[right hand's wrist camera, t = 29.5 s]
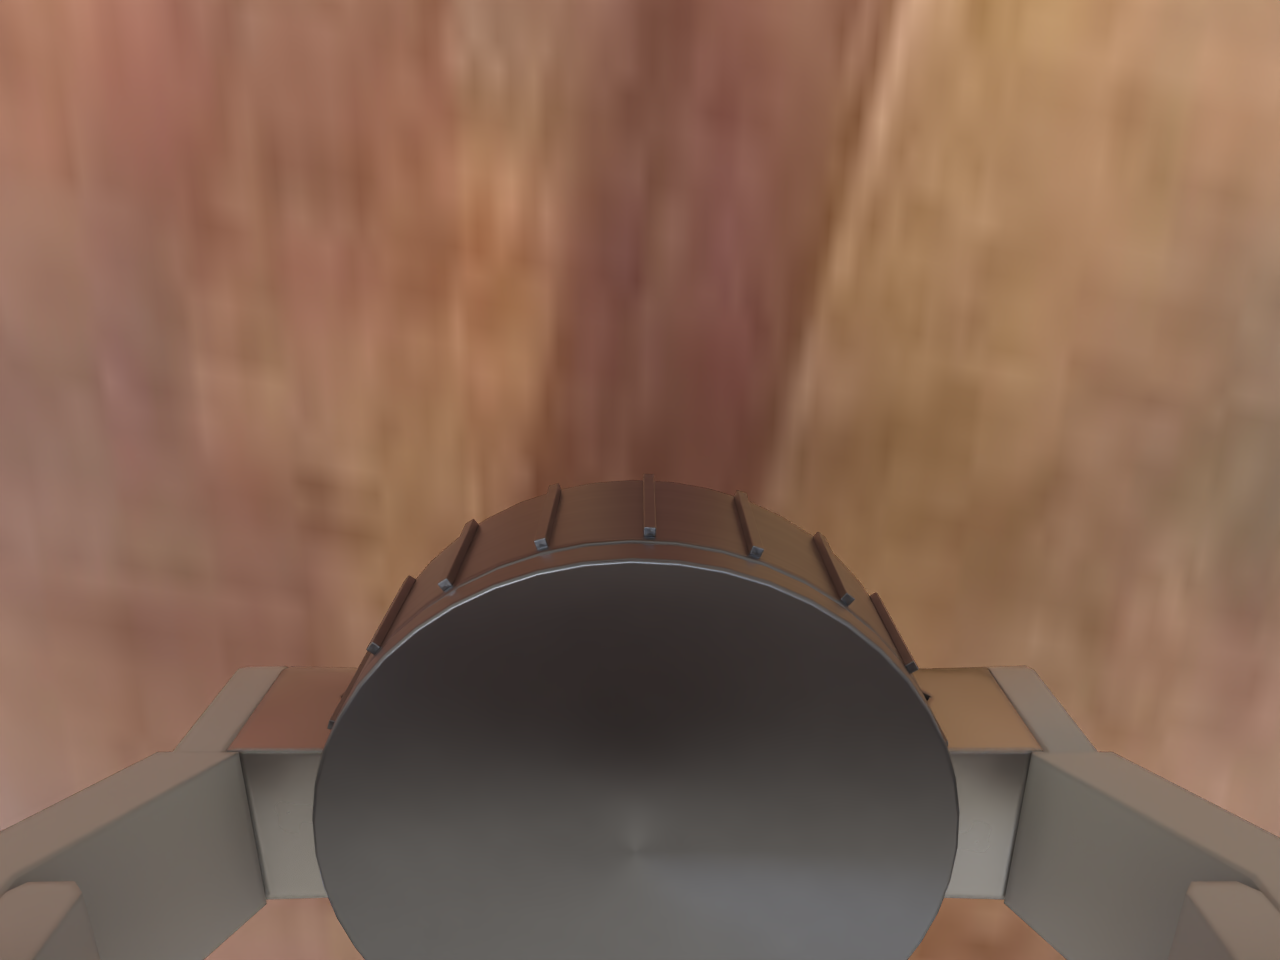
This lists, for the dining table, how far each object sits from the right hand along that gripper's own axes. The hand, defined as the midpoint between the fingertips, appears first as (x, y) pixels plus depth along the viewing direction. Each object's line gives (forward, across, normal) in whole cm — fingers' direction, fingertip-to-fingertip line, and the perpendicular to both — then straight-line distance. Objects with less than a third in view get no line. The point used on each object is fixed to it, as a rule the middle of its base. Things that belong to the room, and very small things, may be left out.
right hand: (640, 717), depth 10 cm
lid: (-2, 0, 0) cm, 2 cm away
